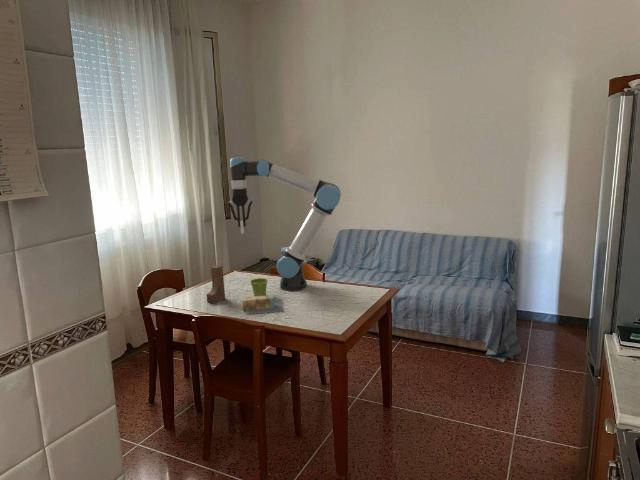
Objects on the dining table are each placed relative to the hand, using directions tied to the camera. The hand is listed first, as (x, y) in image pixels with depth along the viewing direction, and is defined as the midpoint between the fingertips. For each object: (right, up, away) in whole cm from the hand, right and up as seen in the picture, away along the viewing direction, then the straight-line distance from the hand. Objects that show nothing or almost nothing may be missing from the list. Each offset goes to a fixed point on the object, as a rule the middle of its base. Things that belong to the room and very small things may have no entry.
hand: (242, 232), depth 246 cm
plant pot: (+9, -34, +4) cm, 36 cm away
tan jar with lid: (+3, -35, -15) cm, 39 cm away
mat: (+13, -38, -13) cm, 42 cm away
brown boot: (-14, -36, 0) cm, 38 cm away
